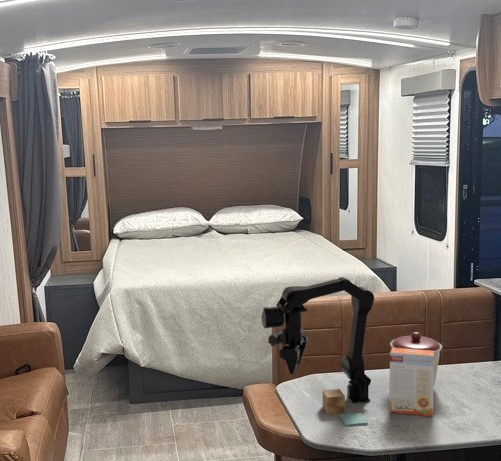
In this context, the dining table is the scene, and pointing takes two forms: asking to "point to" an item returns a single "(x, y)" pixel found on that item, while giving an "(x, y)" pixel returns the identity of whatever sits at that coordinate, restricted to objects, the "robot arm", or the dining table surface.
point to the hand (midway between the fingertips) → (294, 369)
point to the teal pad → (353, 419)
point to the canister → (419, 346)
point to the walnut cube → (333, 401)
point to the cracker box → (412, 381)
